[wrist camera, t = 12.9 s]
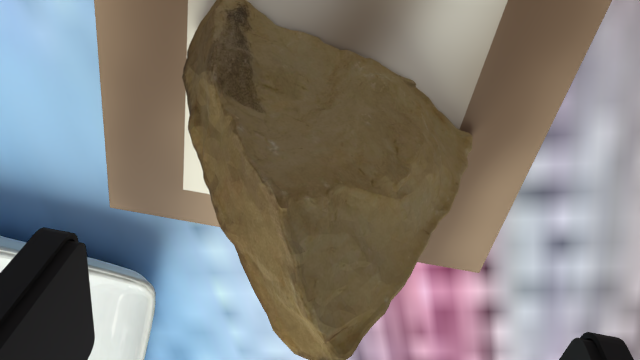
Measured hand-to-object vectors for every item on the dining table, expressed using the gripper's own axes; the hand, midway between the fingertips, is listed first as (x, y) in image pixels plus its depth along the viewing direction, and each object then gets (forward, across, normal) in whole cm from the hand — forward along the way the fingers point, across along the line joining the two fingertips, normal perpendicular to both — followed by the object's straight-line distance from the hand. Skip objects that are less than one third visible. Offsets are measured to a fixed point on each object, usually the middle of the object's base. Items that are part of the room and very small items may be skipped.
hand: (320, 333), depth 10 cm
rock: (+12, +1, 0) cm, 12 cm away
